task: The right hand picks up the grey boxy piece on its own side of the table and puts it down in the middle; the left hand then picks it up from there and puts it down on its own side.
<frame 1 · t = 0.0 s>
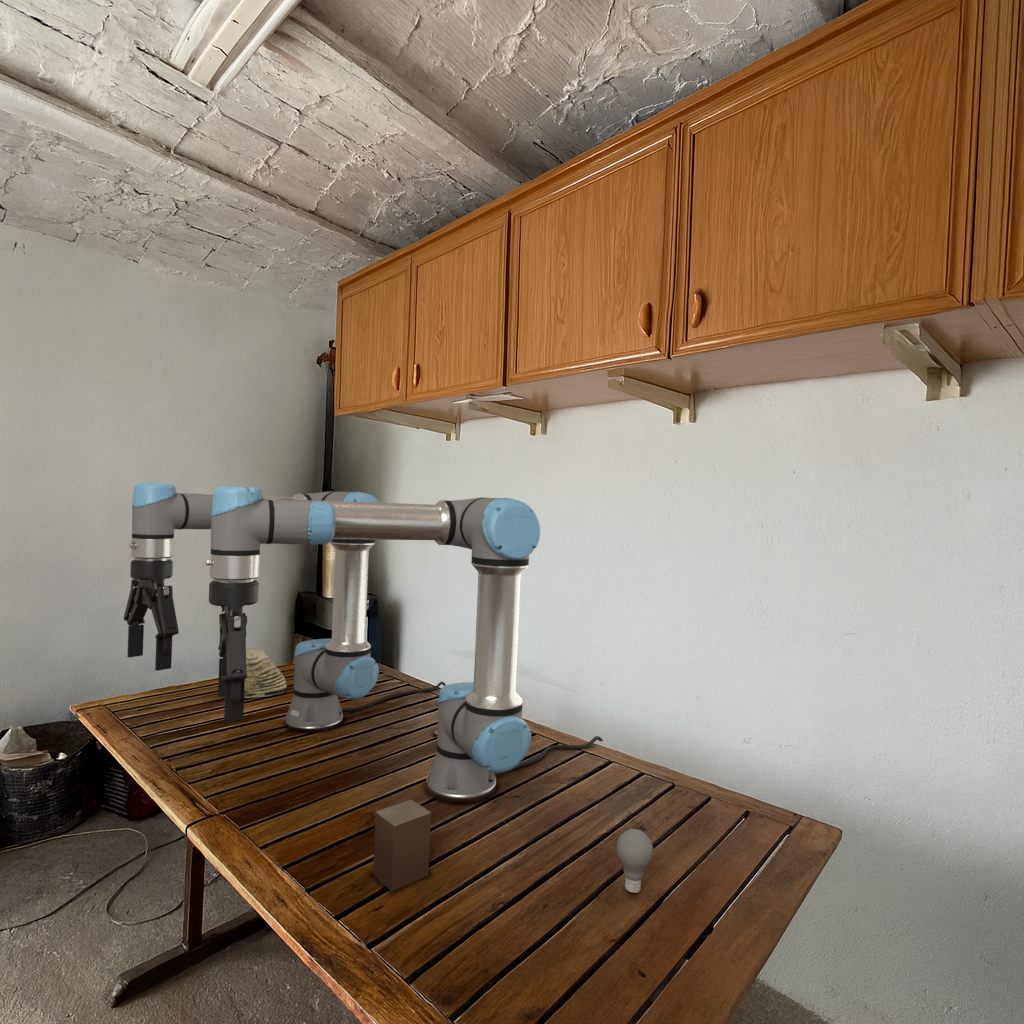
left hand: (148, 662, 129), 28 cm above the table, tool pointing down, fingers open, 13 cm apart
right hand: (229, 707, 105), 28 cm above the table, tool pointing down, fingers open, 13 cm apart
fossil: (254, 694, 198), on the table
anatomical model: (460, 733, 173), on the table
light bulb: (632, 891, 106), on the table
grey boxy piece: (400, 875, 107), on the table
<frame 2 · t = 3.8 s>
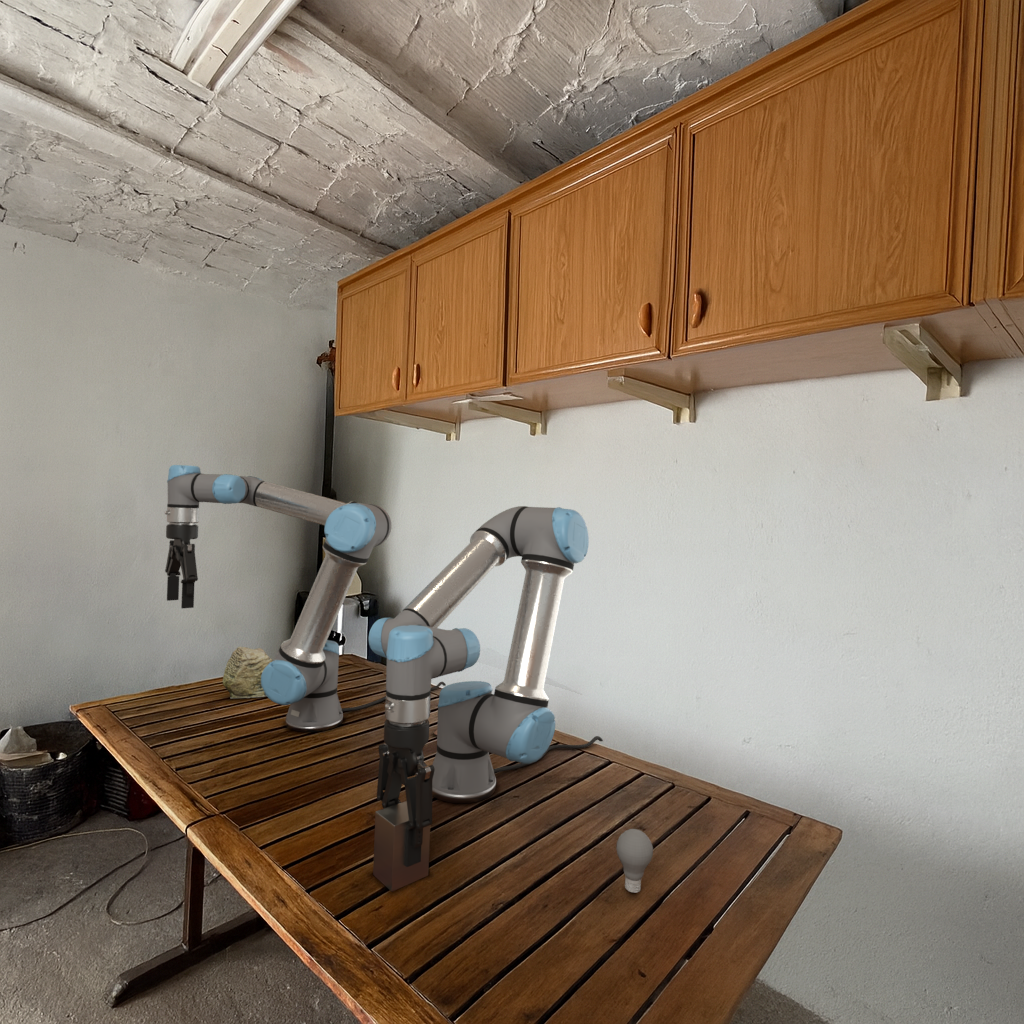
left hand: (179, 604, 167), 33 cm above the table, tool pointing down, fingers open, 13 cm apart
right hand: (401, 854, 107), 4 cm above the table, tool pointing down, fingers closed on grey boxy piece, 6 cm apart
grey boxy piece: (400, 875, 107), on the table, touching right hand
everything else where it was.
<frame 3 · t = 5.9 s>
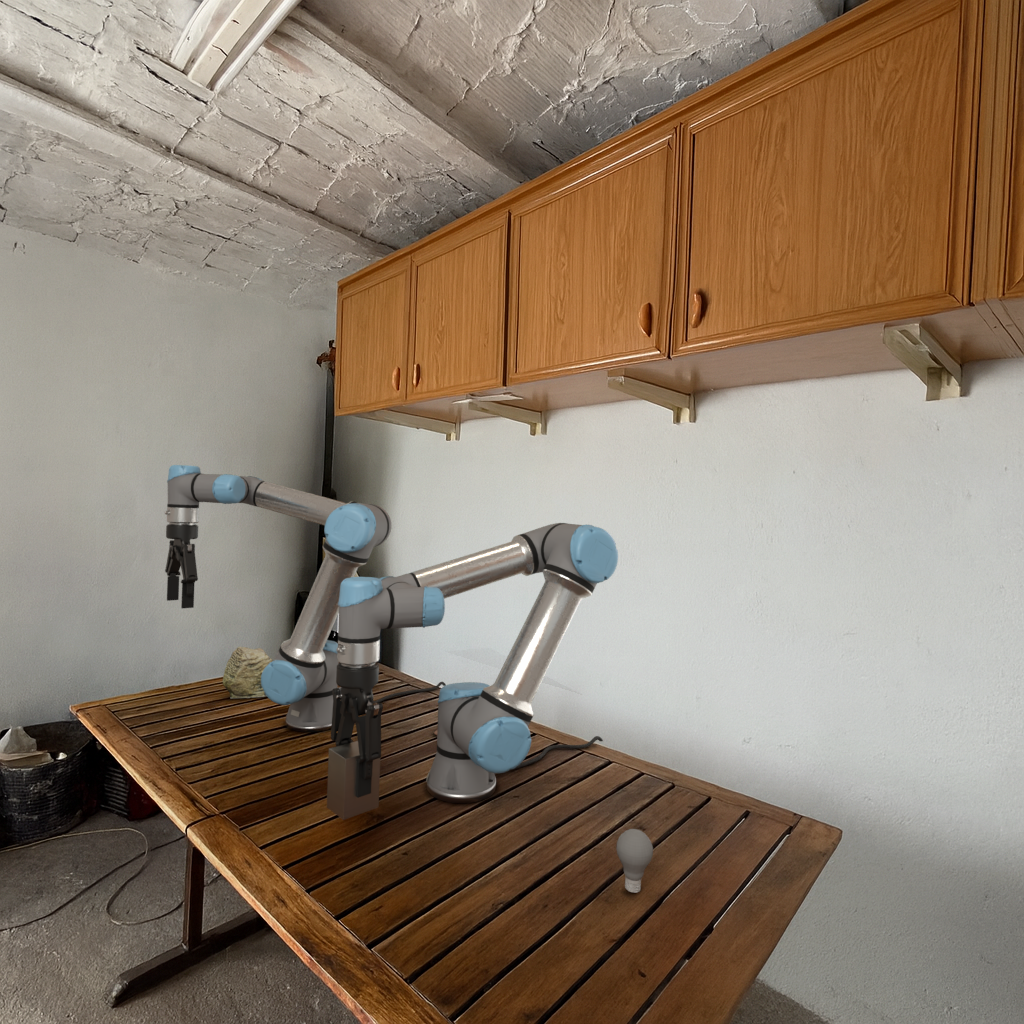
left hand: (179, 604, 167), 33 cm above the table, tool pointing down, fingers open, 13 cm apart
right hand: (353, 787, 116), 10 cm above the table, tool pointing down, fingers closed on grey boxy piece, 6 cm apart
grey boxy piece: (352, 807, 116), point 7 cm above the table, touching right hand
everything else where it was.
when the right hand's fingers open (5 cm above the table, at t = 8.5 s): grey boxy piece drops 1 cm, on the table.
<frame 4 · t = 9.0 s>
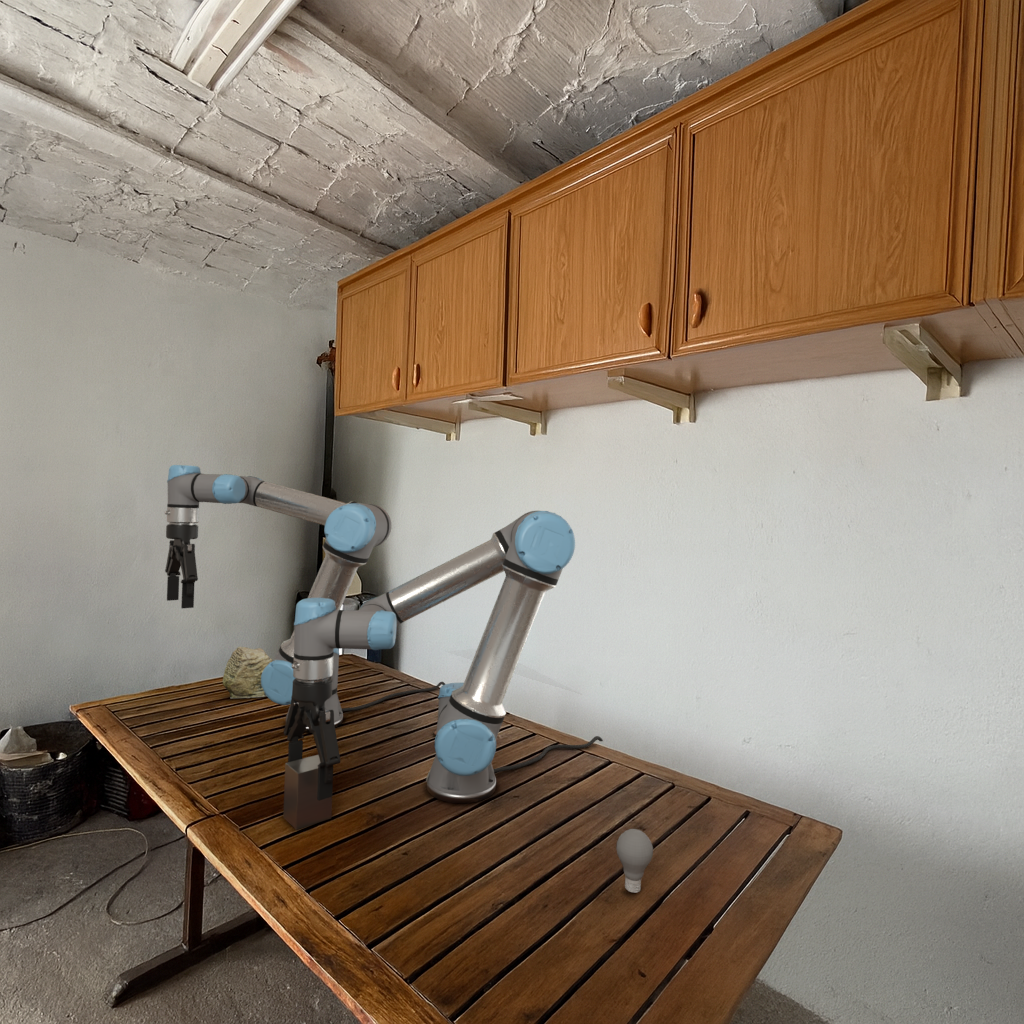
left hand: (179, 604, 167), 33 cm above the table, tool pointing down, fingers open, 13 cm apart
right hand: (309, 785, 125), 7 cm above the table, tool pointing down, fingers open, 13 cm apart
grey boxy piece: (307, 818, 125), on the table
everything else where it was.
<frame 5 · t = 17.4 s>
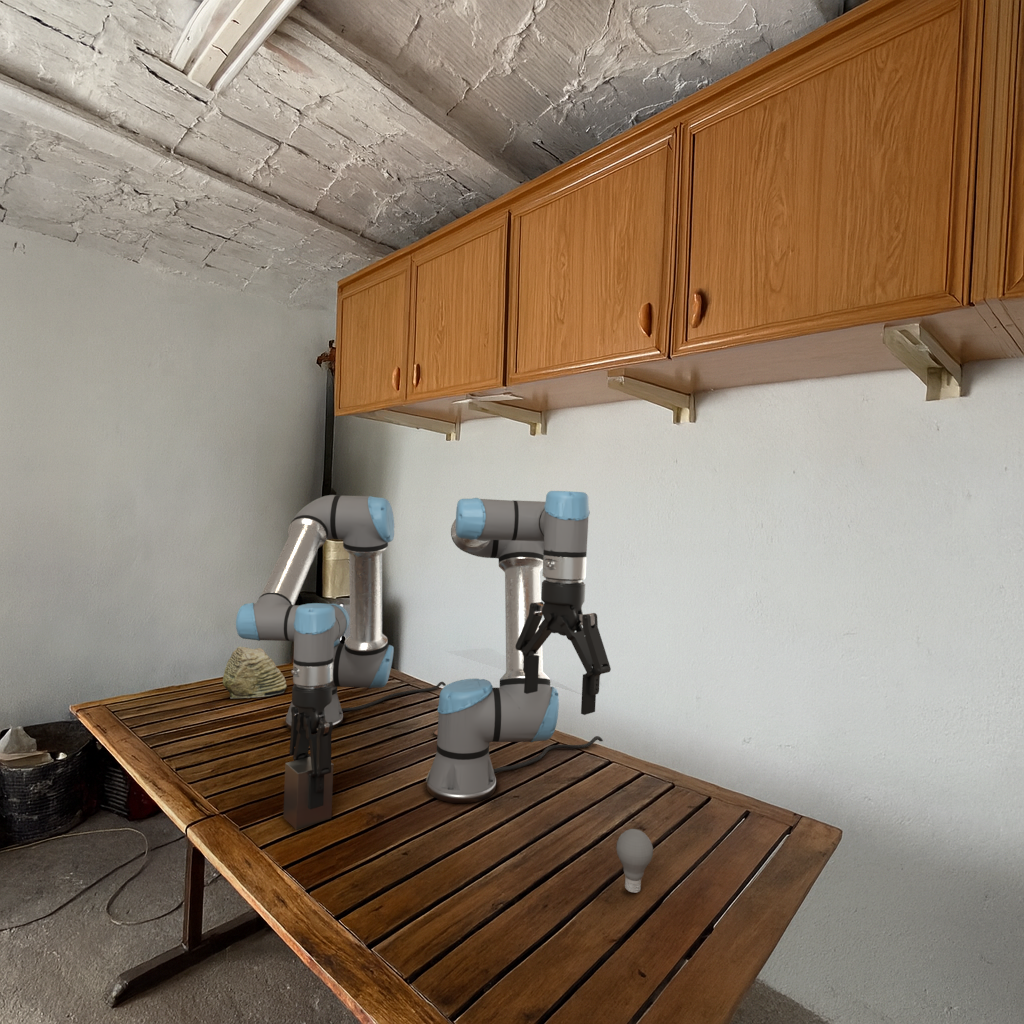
left hand: (308, 799, 125), 4 cm above the table, tool pointing down, fingers closed on grey boxy piece, 6 cm apart
right hand: (558, 702, 110), 30 cm above the table, tool pointing down, fingers open, 13 cm apart
grey boxy piece: (307, 818, 125), on the table, touching left hand
everything else where it was.
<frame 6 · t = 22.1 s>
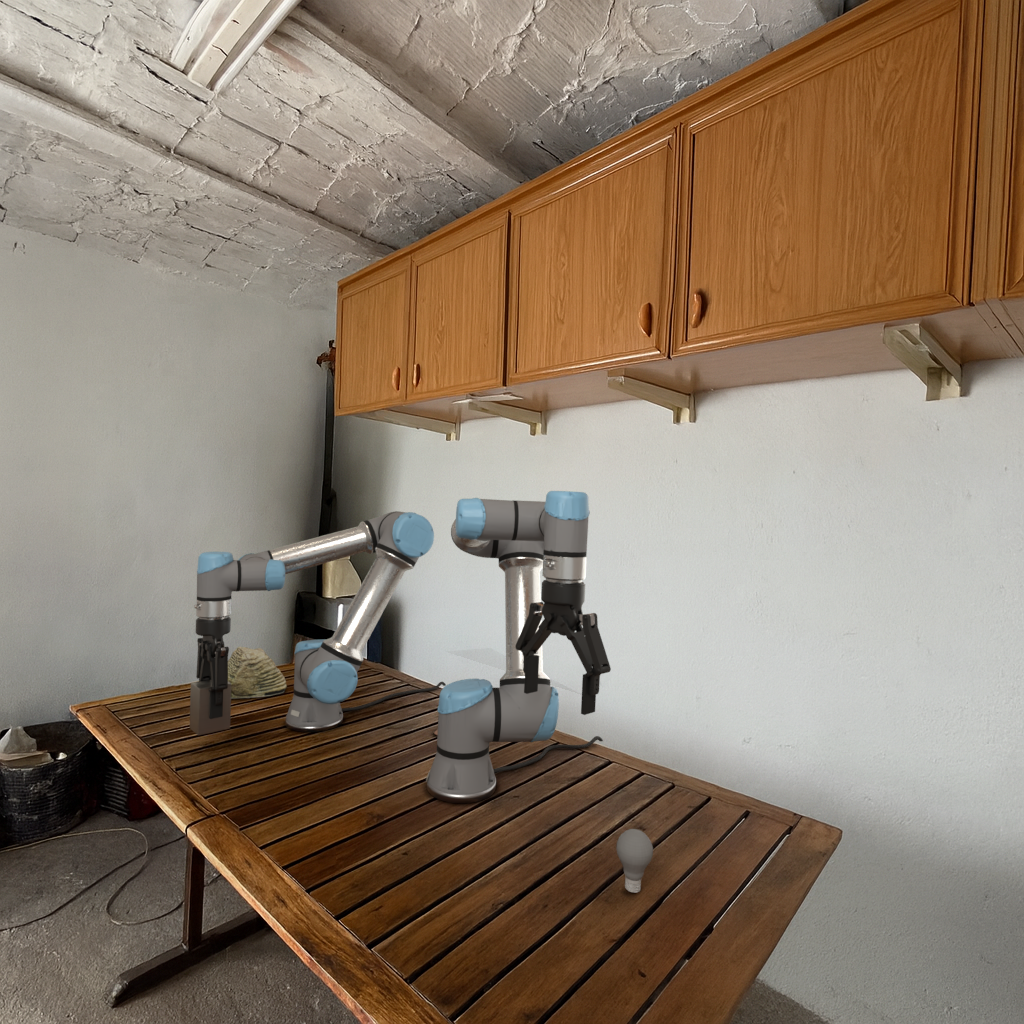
left hand: (210, 713, 151), 10 cm above the table, tool pointing down, fingers closed on grey boxy piece, 6 cm apart
right hand: (558, 702, 110), 30 cm above the table, tool pointing down, fingers open, 13 cm apart
grey boxy piece: (209, 728, 151), point 7 cm above the table, touching left hand
everything else where it was.
when the left hand's fingers open (5 cm above the table, at t = 26.9 s): grey boxy piece drops 1 cm, on the table.
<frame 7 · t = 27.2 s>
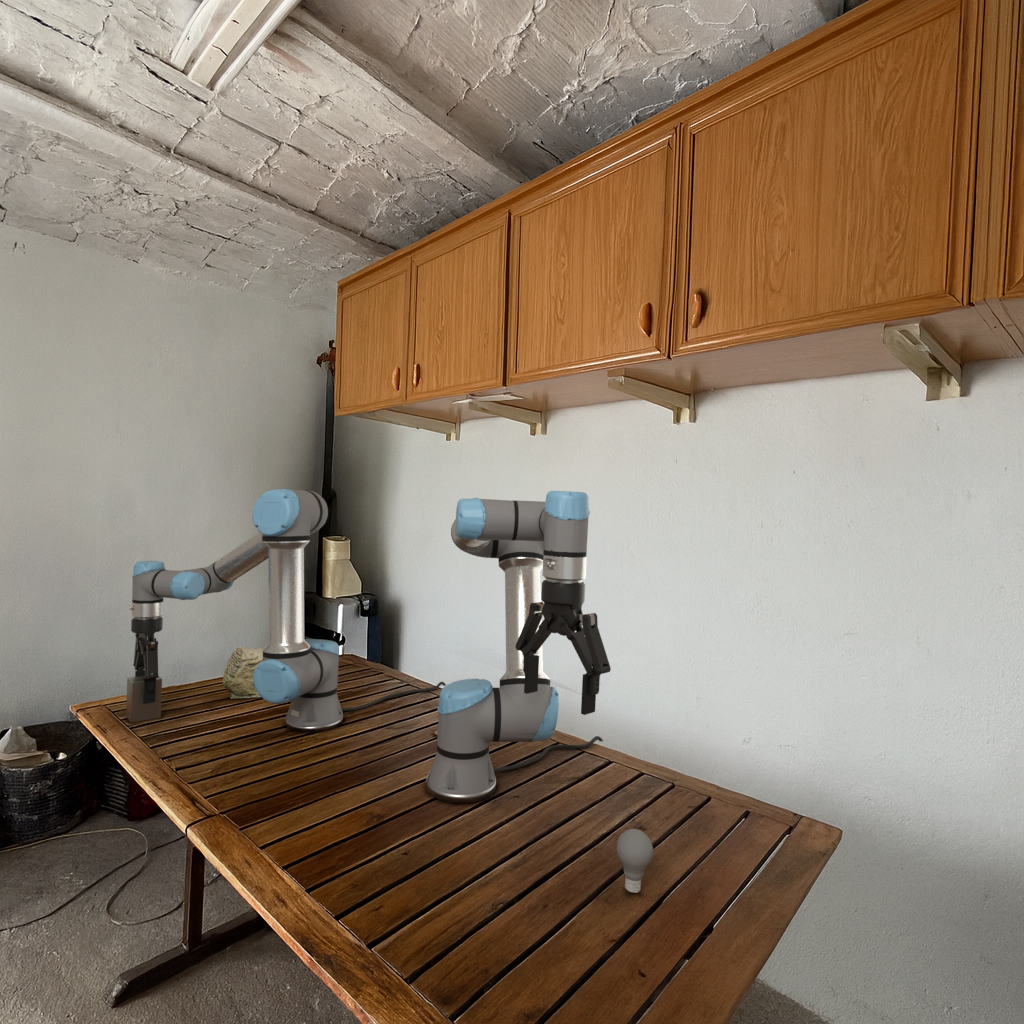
left hand: (144, 698, 175), 5 cm above the table, tool pointing down, fingers open, 9 cm apart
right hand: (558, 702, 110), 30 cm above the table, tool pointing down, fingers open, 13 cm apart
grey boxy piece: (143, 717, 175), on the table
everything else where it was.
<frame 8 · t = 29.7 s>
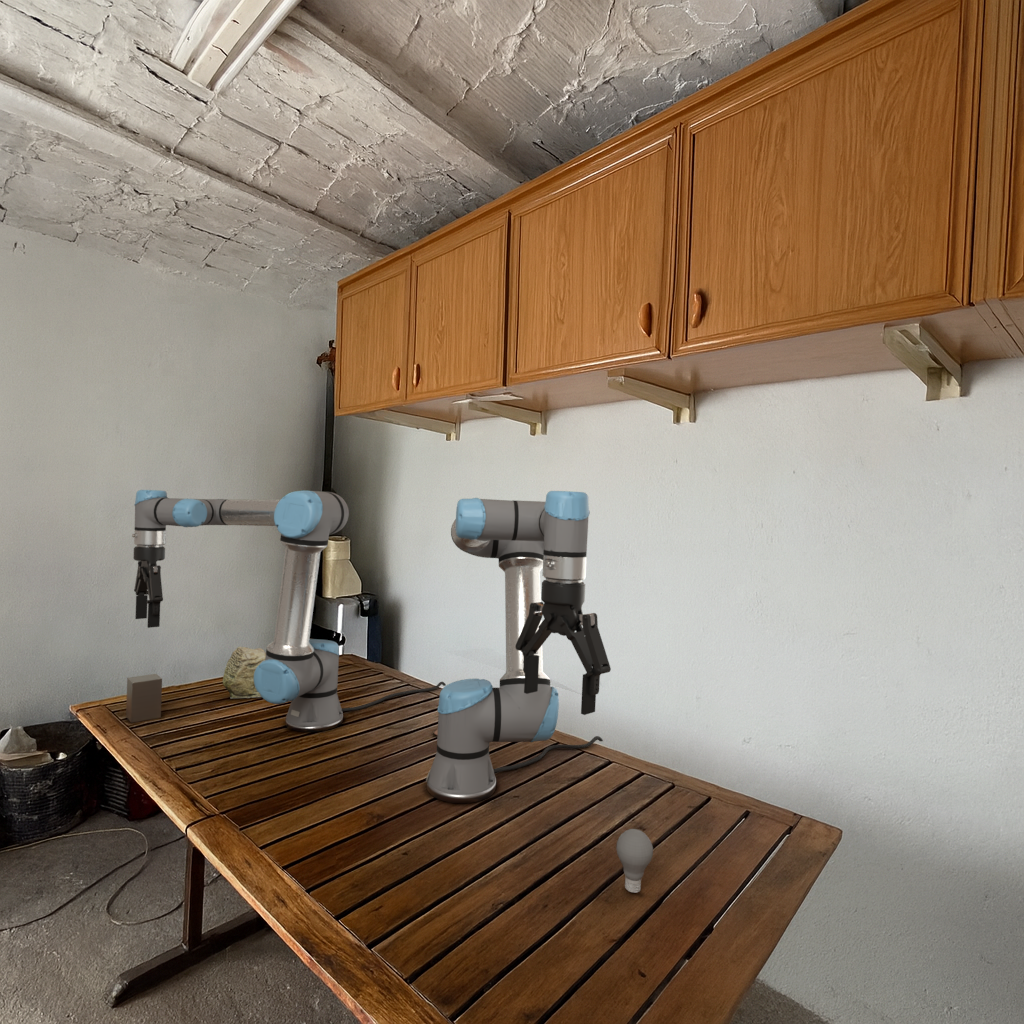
left hand: (147, 622, 175), 26 cm above the table, tool pointing down, fingers open, 13 cm apart
right hand: (558, 702, 110), 30 cm above the table, tool pointing down, fingers open, 13 cm apart
nothing on the table moved.
at the end: grey boxy piece inside the target area (0.1 cm from its centre), on the table; grey boxy piece tilted 0°; the two hands never held the grey boxy piece at the same time; the left hand is holding nothing; the right hand is holding nothing; grey boxy piece at rest at the end (0.0 cm/s) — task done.
